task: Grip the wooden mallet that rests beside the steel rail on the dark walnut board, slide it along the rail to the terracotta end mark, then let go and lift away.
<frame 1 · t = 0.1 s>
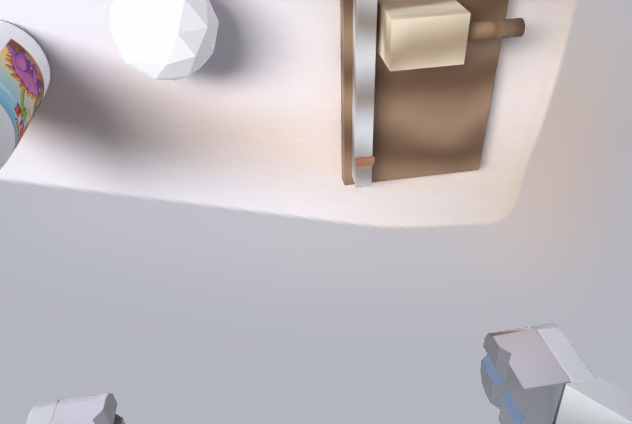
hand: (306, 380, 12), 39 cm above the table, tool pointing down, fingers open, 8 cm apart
milk bottle: (1, 62, 45), on the table
wooden mallet: (411, 21, 46), point 1 cm above the table, touching walnut board
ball: (168, 10, 44), on the table
walnut board: (416, 69, 50), on the table
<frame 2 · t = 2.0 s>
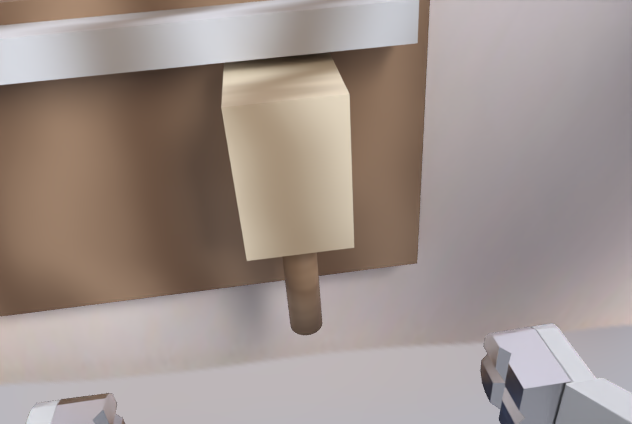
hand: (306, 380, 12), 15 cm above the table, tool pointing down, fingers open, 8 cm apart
wooden mallet: (283, 124, 23), point 1 cm above the table, touching walnut board
walnut board: (172, 150, 25), on the table
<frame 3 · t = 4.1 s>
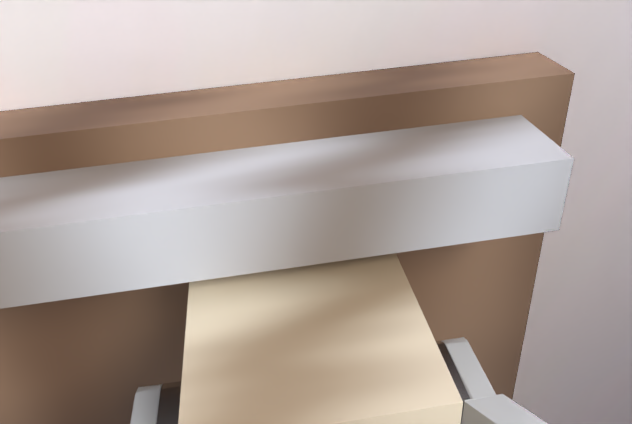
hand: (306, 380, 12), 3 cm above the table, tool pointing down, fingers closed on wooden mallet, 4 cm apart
wooden mallet: (298, 329, 13), point 1 cm above the table, touching gripper, walnut board
walnut board: (111, 353, 15), on the table
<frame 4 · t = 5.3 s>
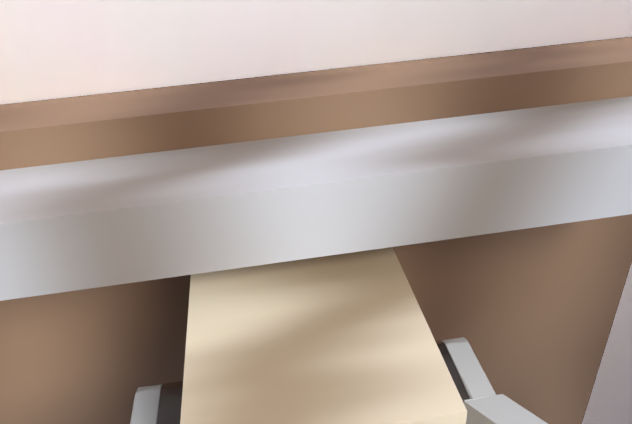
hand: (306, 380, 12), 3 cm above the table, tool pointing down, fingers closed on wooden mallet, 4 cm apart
wooden mallet: (299, 333, 13), point 2 cm above the table, touching gripper
walnut board: (206, 333, 15), on the table
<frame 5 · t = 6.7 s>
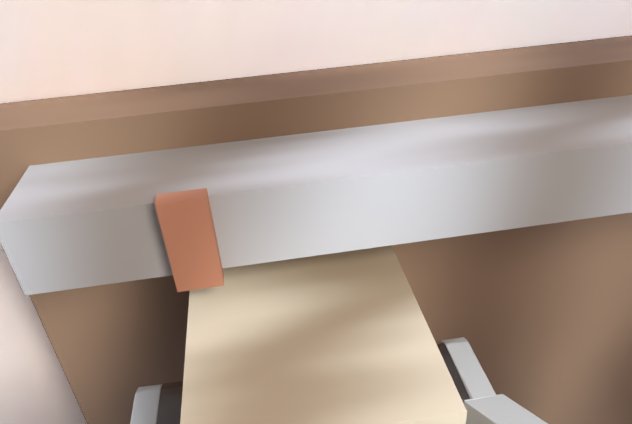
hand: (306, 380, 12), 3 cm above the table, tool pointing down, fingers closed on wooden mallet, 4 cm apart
wooden mallet: (299, 334, 13), point 2 cm above the table, touching gripper
walnut board: (478, 292, 16), on the table
when the fingers open (3 cm above the table, at t = 8.3 s): wooden mallet stays where it is, resting on walnut board.
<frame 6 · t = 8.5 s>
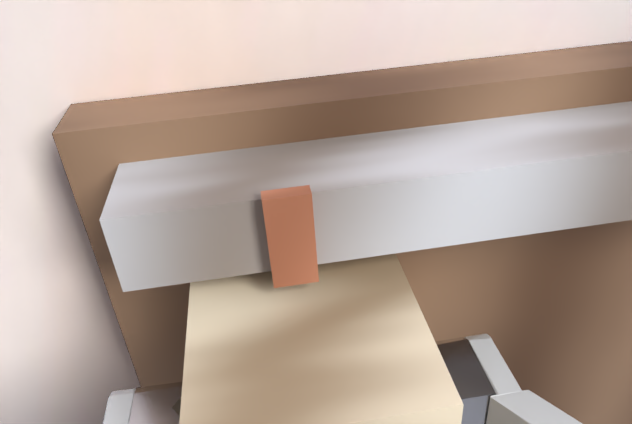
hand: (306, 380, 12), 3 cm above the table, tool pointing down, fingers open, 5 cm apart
wooden mallet: (298, 330, 13), point 1 cm above the table, touching walnut board
walnut board: (534, 289, 16), on the table
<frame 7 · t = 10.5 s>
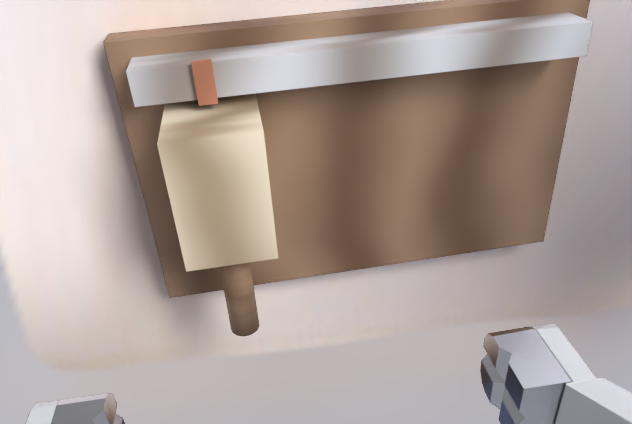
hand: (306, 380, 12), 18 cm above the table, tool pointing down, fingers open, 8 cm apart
wooden mallet: (220, 153, 27), point 1 cm above the table, touching walnut board
walnut board: (355, 146, 29), on the table
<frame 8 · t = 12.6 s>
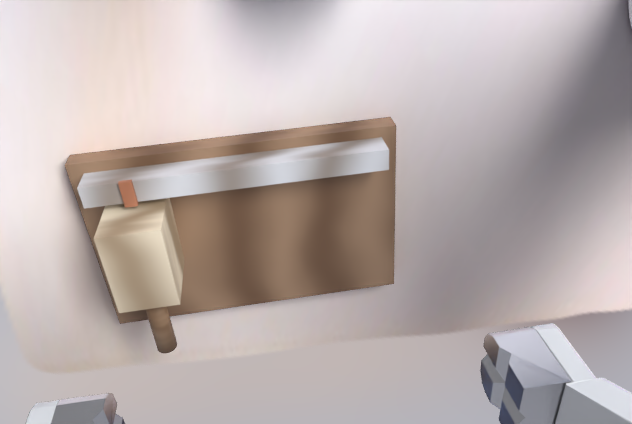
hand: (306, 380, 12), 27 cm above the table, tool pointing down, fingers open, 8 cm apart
wooden mallet: (148, 229, 39), point 1 cm above the table, touching walnut board
walnut board: (247, 220, 42), on the table
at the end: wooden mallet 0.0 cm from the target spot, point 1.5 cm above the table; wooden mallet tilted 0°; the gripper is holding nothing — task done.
